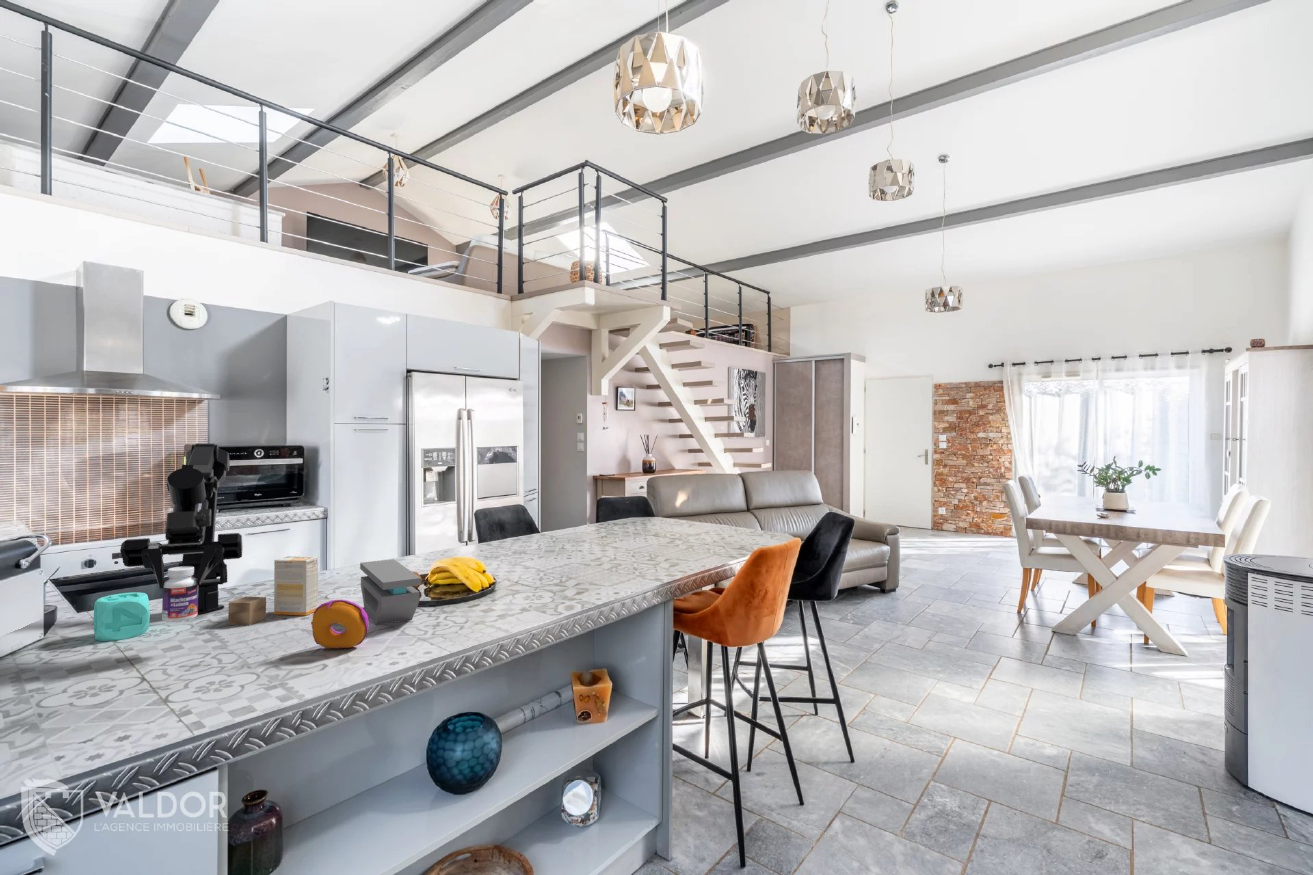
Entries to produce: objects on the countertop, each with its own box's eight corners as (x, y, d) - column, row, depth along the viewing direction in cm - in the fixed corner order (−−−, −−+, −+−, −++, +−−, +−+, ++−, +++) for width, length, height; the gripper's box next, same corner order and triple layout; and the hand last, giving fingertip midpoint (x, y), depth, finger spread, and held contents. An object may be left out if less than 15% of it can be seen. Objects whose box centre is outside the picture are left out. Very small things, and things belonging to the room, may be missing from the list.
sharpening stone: (420, 626, 133) (420, 578, 133) (382, 633, 128) (383, 582, 128) (393, 601, 153) (393, 559, 153) (359, 606, 148) (360, 562, 148)
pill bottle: (168, 624, 111) (169, 572, 111) (157, 619, 114) (157, 568, 114) (202, 617, 116) (203, 567, 116) (190, 612, 119) (191, 563, 119)
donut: (340, 640, 123) (341, 591, 123) (373, 646, 120) (374, 596, 120) (305, 652, 116) (305, 601, 116) (339, 659, 113) (340, 606, 113)
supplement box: (319, 610, 144) (320, 556, 144) (305, 616, 139) (306, 560, 139) (287, 609, 145) (288, 555, 145) (272, 614, 140) (273, 559, 140)
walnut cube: (228, 624, 133) (228, 602, 133) (245, 618, 138) (245, 596, 138) (249, 625, 132) (249, 603, 132) (265, 618, 137) (266, 597, 137)
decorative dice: (149, 634, 125) (150, 596, 125) (97, 644, 119) (98, 604, 119) (143, 626, 130) (143, 590, 131) (93, 635, 125) (93, 596, 125)
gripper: (123, 497, 113) (107, 566, 104) (242, 493, 123) (237, 556, 114) (132, 532, 120) (117, 600, 111) (244, 526, 130) (239, 588, 121)
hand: (179, 585), depth 114 cm, fingers closed on pill bottle, 5 cm apart
